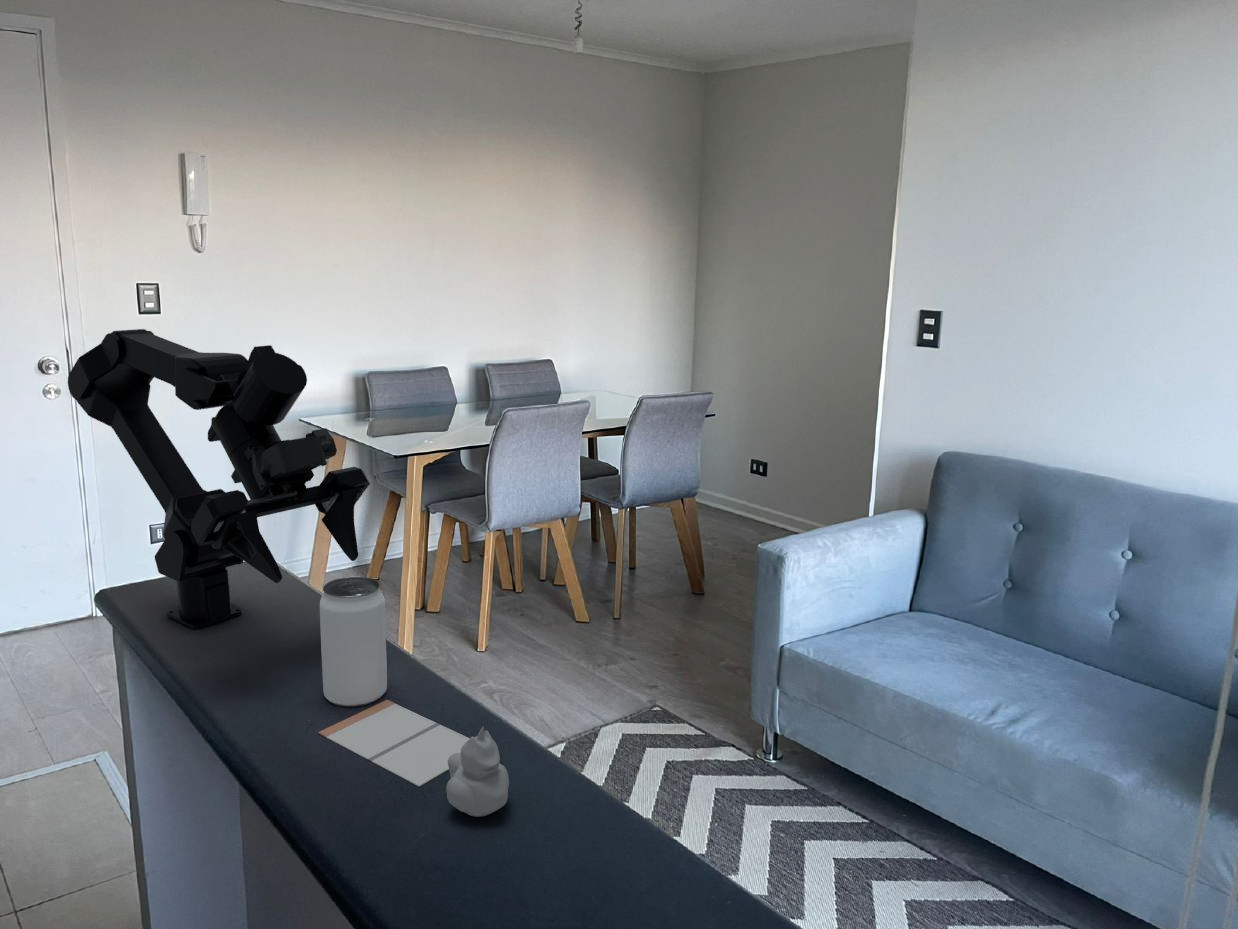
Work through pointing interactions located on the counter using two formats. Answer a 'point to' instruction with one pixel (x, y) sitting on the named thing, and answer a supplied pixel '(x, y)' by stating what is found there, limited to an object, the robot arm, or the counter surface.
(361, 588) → the can
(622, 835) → the counter surface
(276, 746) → the counter surface
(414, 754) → the distance mat
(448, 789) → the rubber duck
